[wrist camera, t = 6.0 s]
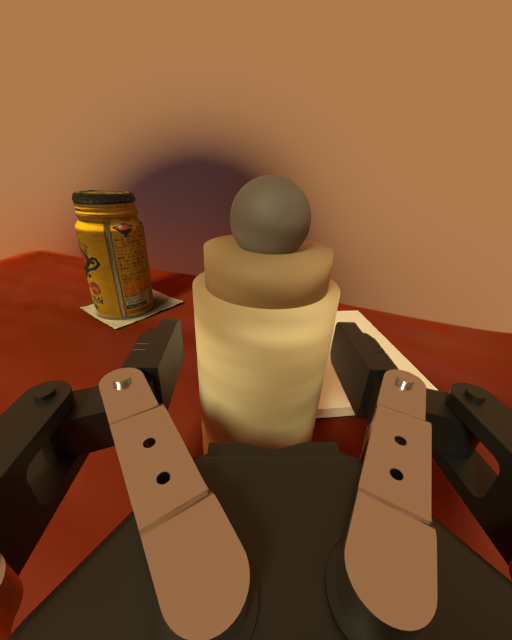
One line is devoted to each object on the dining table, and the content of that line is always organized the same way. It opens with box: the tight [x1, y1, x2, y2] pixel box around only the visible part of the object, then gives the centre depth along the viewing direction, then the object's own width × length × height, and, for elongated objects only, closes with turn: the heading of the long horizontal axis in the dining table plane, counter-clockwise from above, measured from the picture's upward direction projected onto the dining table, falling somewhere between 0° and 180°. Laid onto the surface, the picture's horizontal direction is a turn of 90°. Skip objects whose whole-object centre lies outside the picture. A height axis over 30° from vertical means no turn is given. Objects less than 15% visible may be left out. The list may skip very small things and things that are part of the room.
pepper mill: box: [193, 175, 340, 454], centre depth 11 cm, size 5×5×14 cm
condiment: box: [72, 190, 184, 329], centre depth 30 cm, size 7×8×12 cm
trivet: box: [316, 311, 438, 418], centre depth 25 cm, size 14×14×1 cm
